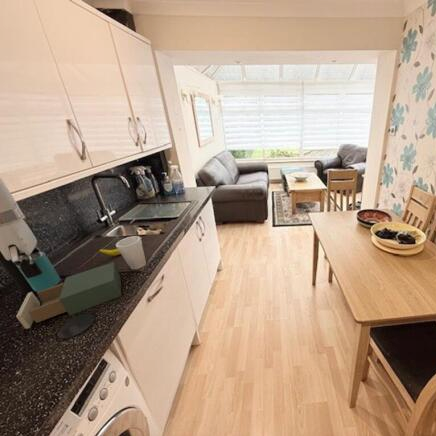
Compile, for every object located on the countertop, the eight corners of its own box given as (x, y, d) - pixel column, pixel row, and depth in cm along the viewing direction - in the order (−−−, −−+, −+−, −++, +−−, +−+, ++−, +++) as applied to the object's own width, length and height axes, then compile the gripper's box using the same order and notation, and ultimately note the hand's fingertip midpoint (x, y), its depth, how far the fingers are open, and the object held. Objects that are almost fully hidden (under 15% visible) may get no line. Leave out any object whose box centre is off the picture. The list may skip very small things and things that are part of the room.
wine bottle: (22, 292, 99) (-24, 228, 86) (46, 281, 104) (6, 220, 92) (26, 298, 95) (-22, 233, 82) (51, 287, 100) (9, 224, 87)
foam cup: (145, 269, 107) (134, 245, 101) (123, 273, 106) (111, 248, 100) (152, 257, 116) (143, 234, 110) (132, 260, 114) (122, 237, 109)
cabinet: (69, 315, 85) (58, 299, 82) (75, 292, 96) (65, 277, 93) (121, 295, 92) (113, 280, 89) (120, 276, 104) (113, 261, 100)
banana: (145, 246, 126) (141, 235, 124) (103, 261, 116) (97, 250, 113) (144, 244, 128) (140, 234, 126) (102, 259, 118) (96, 248, 115)
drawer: (20, 331, 79) (10, 318, 76) (32, 306, 89) (23, 294, 87) (80, 308, 87) (72, 296, 84) (84, 288, 97) (77, 276, 94)
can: (31, 294, 71) (11, 266, 66) (36, 283, 76) (18, 256, 71) (59, 285, 74) (41, 257, 70) (62, 274, 79) (46, 248, 74)
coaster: (55, 344, 74) (54, 343, 74) (60, 323, 82) (60, 322, 82) (94, 328, 79) (93, 327, 79) (96, 309, 87) (95, 308, 87)
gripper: (-5, 211, 69) (28, 261, 77) (-33, 233, 56) (11, 291, 64) (30, 204, 73) (58, 253, 81) (11, 223, 60) (48, 279, 68)
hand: (37, 269), depth 72 cm, fingers closed on can, 6 cm apart
